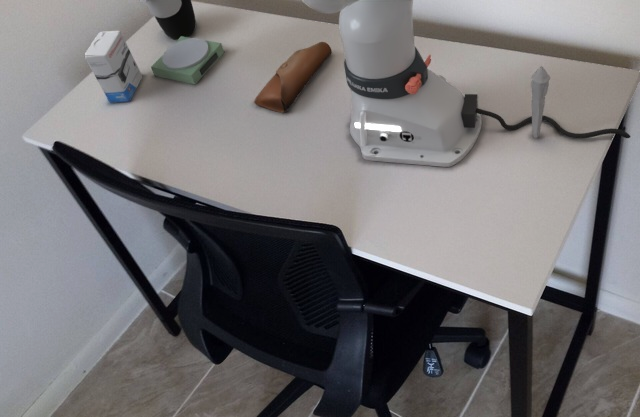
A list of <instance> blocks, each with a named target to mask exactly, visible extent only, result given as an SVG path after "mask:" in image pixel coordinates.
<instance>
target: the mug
mask: <svg viewBox="0 0 640 417" xmlns="http://www.w3.org/2000/svg"><path fill="white" fill-rule="evenodd" d="M181 3H182V4H181V7H180V9H179V11H178V12H177V13H176V14H174V15H172V16H170V17H167V18H158V17H155V16H154V18H155V20H156V22H157V24H158V25H159V27H160V28H161V30H162V31H163V33H164V34H165V35H166V36H167V37H168V38H170V39H171V40H175V41H177V40H178V39H179V38H180V37H181V36H182V37H188V38H189V37H190V36H191V35H193V34H194V32H195V30H196V27H197V21H196V14H195V10H194V6H193V3H192V0H181Z"/></svg>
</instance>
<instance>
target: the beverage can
mask: <svg viewBox="0 0 640 417" xmlns="http://www.w3.org/2000/svg"><path fill="white" fill-rule="evenodd" d="M145 4H146V6H147V8H148V10H149V13H150V15H151V16H153V17H154V18H155V17H158V18H167V17H170V16H172V15H174V14H176V13H177V12H178V11H179V9H180V7H181V4H182V3H181V0H149V1H148V2H147V3H145Z"/></svg>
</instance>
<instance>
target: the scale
mask: <svg viewBox="0 0 640 417" xmlns="http://www.w3.org/2000/svg"><path fill="white" fill-rule="evenodd" d="M224 54H225V50H224V47H223V44H222V43H221V42H217V41H212V40H211V41H210V40H205V39H202V38H195V37H189V36H188V37H182V36H181V37H180V38H179V39H178V40H175V42H173V44H172V45H170V46H169V47H168V48H166V49H165V51H164V52H163V54H162V55H161V56H160V57H158V59H157V60H156V61H155V62H154V63H153V64H152V65H151V66H150V68H151V70H152V72H153V75H154V76H155V77H158V78H162V79H168V80H172V81H177V82H182V83H187V84H191V85H196V84H197V83H198V82H199V81H200V80H201V79H202V78H203V77H204V75H206V73H207V72H209V70H210V69H211V68H212V67H213V66H214V64H216V62H217V61H218V60H219V59H220V58H221V57H222V56H223V55H224Z"/></svg>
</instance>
